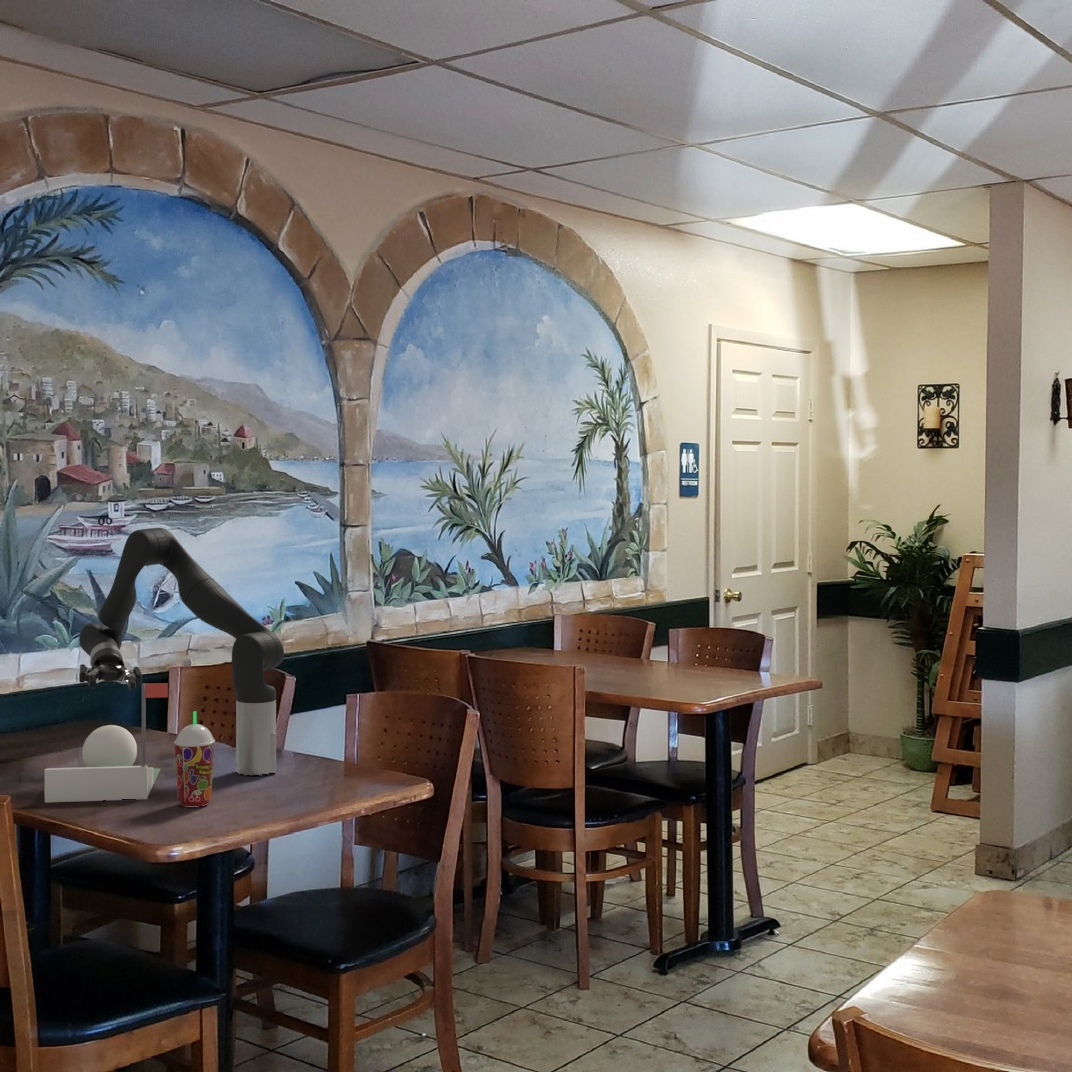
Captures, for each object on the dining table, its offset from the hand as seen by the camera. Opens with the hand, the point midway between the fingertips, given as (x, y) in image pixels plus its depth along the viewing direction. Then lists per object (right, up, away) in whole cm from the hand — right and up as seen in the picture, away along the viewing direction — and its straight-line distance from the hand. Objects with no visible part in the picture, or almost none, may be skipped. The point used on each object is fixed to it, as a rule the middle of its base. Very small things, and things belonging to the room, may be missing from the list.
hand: (113, 686), depth 305 cm
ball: (+1, -14, -7) cm, 16 cm away
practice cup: (+5, -21, -13) cm, 25 cm away
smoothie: (+27, -22, -30) cm, 46 cm away
